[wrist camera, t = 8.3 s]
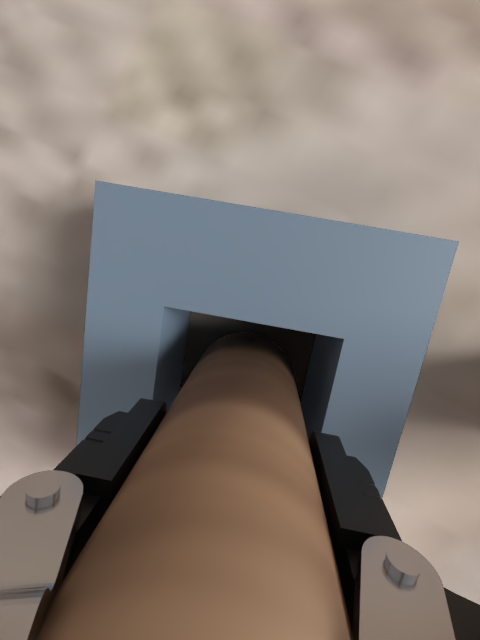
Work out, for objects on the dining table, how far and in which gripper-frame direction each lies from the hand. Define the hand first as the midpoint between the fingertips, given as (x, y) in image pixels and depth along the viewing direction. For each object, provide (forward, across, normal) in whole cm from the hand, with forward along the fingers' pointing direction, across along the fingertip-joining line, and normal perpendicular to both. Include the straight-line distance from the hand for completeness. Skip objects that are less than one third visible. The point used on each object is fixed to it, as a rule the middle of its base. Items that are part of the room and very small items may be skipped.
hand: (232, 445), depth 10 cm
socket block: (+8, 0, 0) cm, 8 cm away
